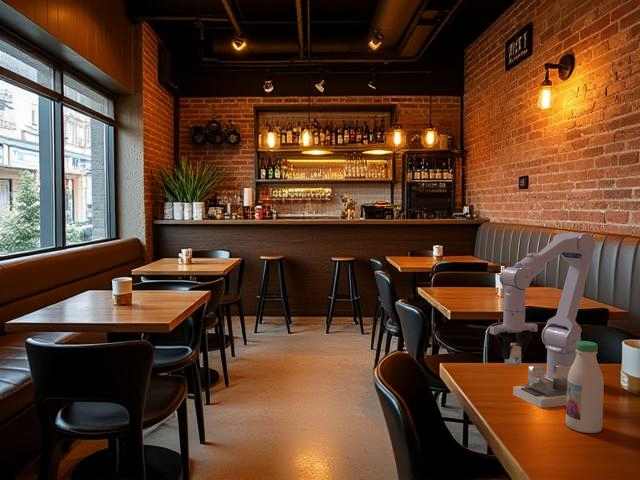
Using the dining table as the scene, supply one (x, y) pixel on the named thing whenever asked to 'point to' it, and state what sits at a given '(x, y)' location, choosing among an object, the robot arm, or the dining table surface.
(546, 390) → the grey metal plate
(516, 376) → the dining table surface
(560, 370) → the cylinder
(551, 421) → the dining table surface
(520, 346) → the cylinder
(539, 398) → the scale
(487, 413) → the dining table surface
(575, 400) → the milk bottle
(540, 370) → the cylinder
